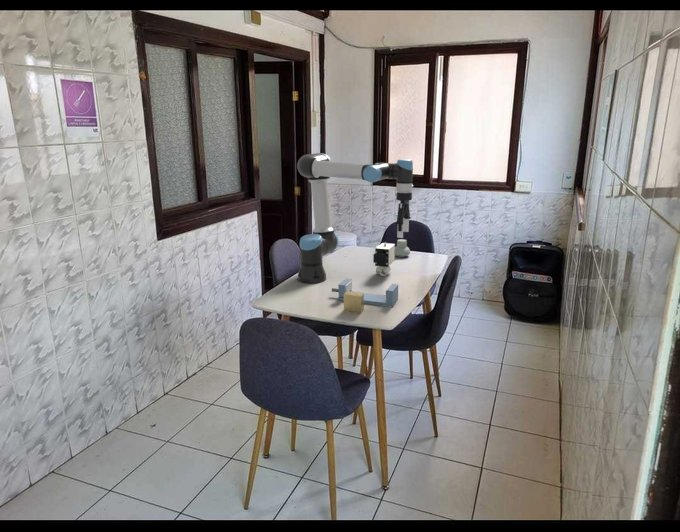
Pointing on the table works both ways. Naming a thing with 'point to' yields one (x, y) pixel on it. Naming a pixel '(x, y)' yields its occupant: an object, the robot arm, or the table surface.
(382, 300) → the vise
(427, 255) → the table surface
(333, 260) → the table surface
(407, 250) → the air freshener
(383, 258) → the white pneumatic actuator
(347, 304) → the wooden block
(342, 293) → the free jaw
